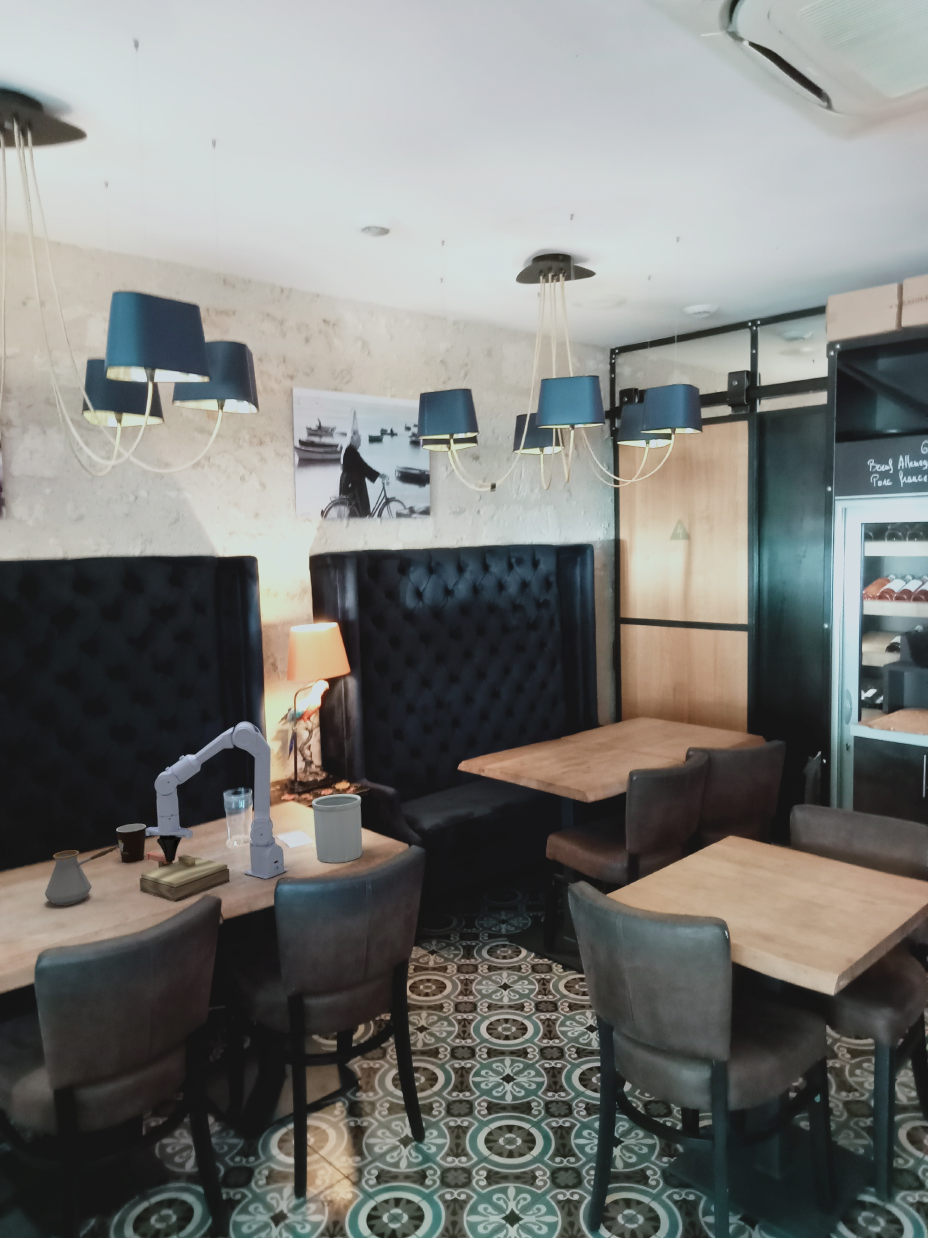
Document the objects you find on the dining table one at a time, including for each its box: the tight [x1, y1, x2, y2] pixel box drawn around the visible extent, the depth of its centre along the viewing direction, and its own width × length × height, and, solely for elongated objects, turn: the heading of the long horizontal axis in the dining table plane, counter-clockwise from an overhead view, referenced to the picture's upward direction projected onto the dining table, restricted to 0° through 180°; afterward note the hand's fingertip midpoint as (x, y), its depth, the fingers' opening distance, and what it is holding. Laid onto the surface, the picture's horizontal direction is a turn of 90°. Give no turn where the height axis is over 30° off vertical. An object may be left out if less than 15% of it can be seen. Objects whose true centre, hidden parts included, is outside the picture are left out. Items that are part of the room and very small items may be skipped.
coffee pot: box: [44, 845, 122, 906], centre depth 235 cm, size 21×12×15 cm, turn 84°
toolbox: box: [139, 861, 230, 902], centre depth 244 cm, size 18×18×6 cm
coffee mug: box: [116, 823, 147, 864], centre depth 270 cm, size 12×9×10 cm
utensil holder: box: [311, 793, 363, 864], centre depth 265 cm, size 15×15×18 cm
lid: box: [140, 854, 228, 887], centre depth 244 cm, size 15×17×3 cm
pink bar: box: [145, 850, 170, 864], centre depth 251 cm, size 9×2×2 cm, turn 54°
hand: (170, 861), depth 247 cm, fingers closed
